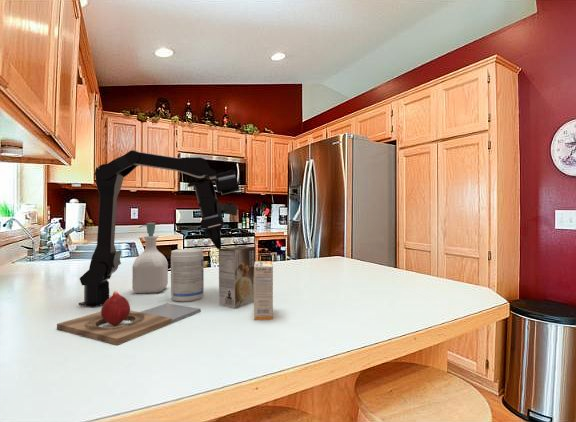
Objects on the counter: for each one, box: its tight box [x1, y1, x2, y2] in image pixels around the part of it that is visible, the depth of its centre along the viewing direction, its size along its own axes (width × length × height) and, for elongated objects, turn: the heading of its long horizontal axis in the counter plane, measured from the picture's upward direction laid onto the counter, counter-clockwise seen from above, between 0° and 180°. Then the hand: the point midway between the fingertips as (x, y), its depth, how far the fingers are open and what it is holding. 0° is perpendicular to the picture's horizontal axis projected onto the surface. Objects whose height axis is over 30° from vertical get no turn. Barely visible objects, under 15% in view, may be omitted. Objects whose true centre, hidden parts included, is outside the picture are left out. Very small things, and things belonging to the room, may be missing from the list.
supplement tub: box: [170, 248, 205, 303], centre depth 98 cm, size 10×10×15 cm
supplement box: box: [253, 260, 274, 321], centre depth 82 cm, size 8×5×13 cm, turn 5°
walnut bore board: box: [56, 309, 173, 346], centre depth 73 cm, size 20×14×1 cm
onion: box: [100, 290, 131, 327], centre depth 73 cm, size 6×6×8 cm
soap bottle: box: [131, 222, 169, 294], centre depth 108 cm, size 10×10×23 cm
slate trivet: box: [140, 302, 202, 324], centre depth 81 cm, size 12×12×1 cm
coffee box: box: [218, 245, 256, 309], centre depth 93 cm, size 9×6×16 cm
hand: (219, 247), depth 100 cm, fingers open, 9 cm apart
